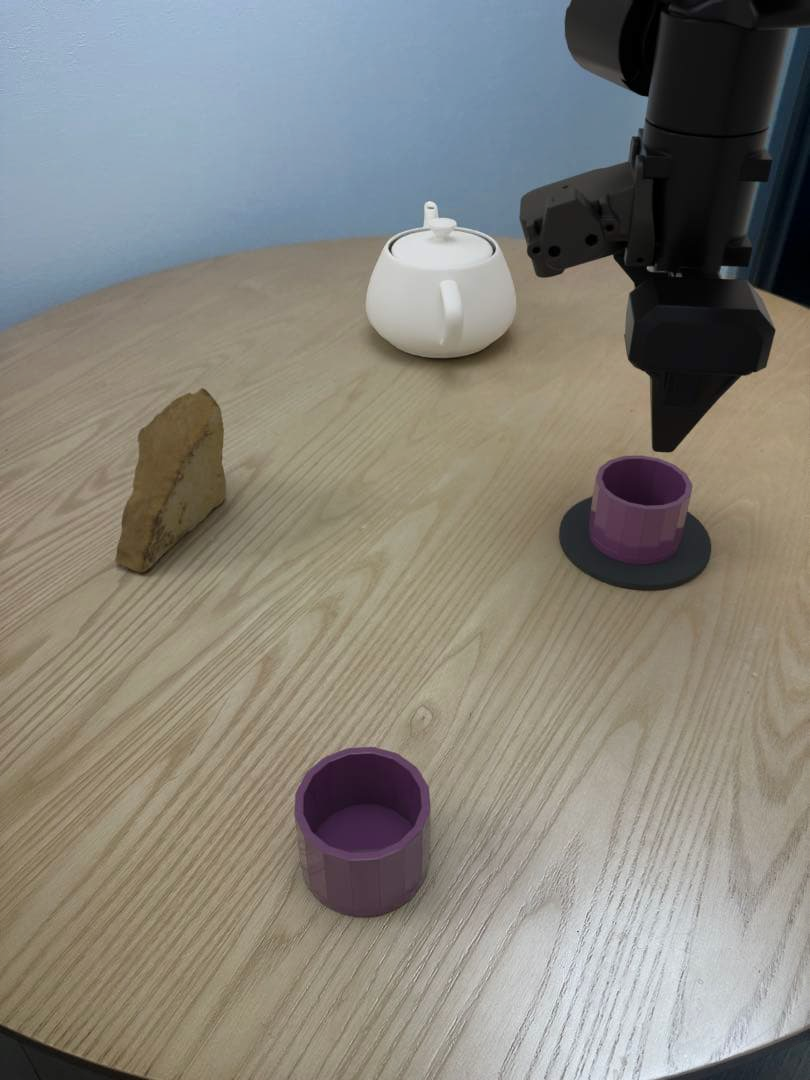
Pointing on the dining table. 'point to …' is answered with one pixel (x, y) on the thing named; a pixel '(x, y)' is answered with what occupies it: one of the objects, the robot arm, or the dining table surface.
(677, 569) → the coaster
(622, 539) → the purple cup
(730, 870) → the dining table surface
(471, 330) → the teapot
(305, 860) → the purple faceted cup
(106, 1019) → the dining table surface
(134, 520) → the rock
